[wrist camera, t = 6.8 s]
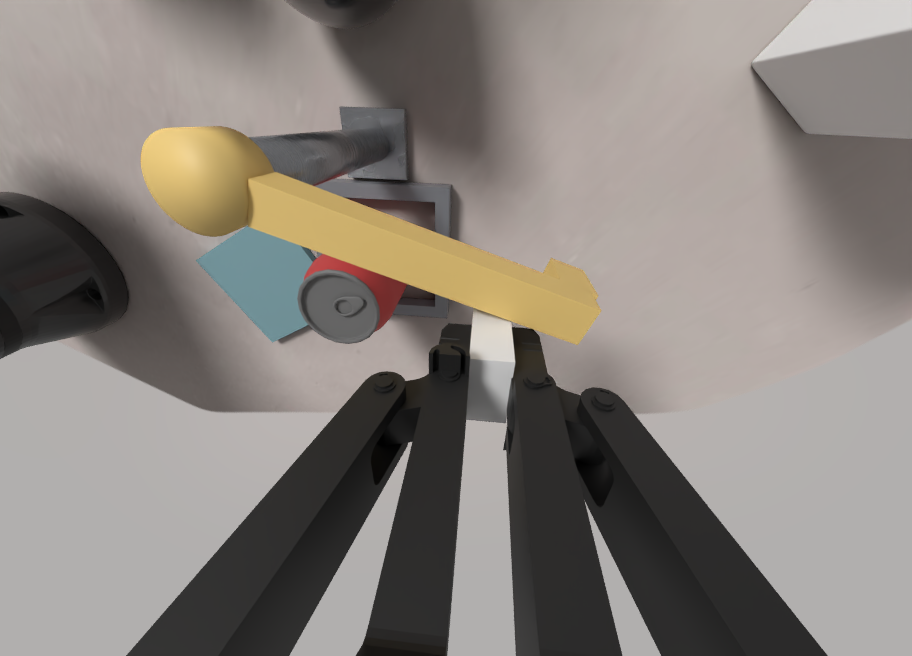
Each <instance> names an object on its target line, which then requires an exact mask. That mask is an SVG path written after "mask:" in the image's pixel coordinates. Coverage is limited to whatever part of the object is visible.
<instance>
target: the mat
mask: <svg viewBox="0 0 912 656" xmlns="http://www.w3.org/2000/svg"><path fill="white" fill-rule="evenodd" d="M315 259H316V258H315V257H314V255H313V254H312V253H311V251H310V250H309V249H308V248H306V247H303V246H300V245H297V244H295V243H292V242H289V241H286V240H283V239H281V238H278V237H275V236H272V235H270V234H267V233H264V232H261V231H258V230H256V229H253V228H250V227H248V226H247V227H245V228H244V229H242V230H241V231H239V232H238V233H236V234H235V235H233V236H232V237H230V238H229V239H227V240H226V241H224V242H223V243H221V244H220V245H218V246H217V247H215V248H214V249H212V250H211V251H209V252H208V253H206V254H205V255H203V256H202V257H200V258H199V259H197V260H196V261H197V262H198V263H199V264H200V266H201V267H202V268H203V269H204V270H205V271H206V272H207V273H208V274H209V275H210V276H211V277H212V278H213V279H214V281H215V282H216V283H217V284H218V285H219V286H220V287H221V288H222V289H223V290H224V291H225V292H226V293H227V294H228V296H229V297H230V298H231V299H232V300H233V301H234V302H235V303H236V304H237V305H238V306H239V307H240V308H241V309H242V310H243V312H244V313H245V314H246V315H247V316H248V317H249V318H250V319H251V320H252V321H253V322H254V323H255V324H256V325H257V327H258V328H259V329H260V330H261V331H262V332H263V333H264V334H265V335H266V336H267V337H268V338H269V339H270V340H271V341H272V342H274V341H276V340H278V339H280V338H282V337H285V336H287V335H289V334H291V333H293V332H295V331H297V330H299V329H301V328H303V327H305V326H307V325H308V324H307V323H306V321H305V320H304V318H303V316H302V314H301V312H300V310H299V306H298V301H297V297H298V291H299V287H300V286H301V284H302V283H303V281H304V276H305V274H306V272H307V270H308V269H309V267H310V266H311V264H312V263H313V261H314V260H315Z"/></svg>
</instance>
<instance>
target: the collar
mask: <svg viewBox="0 0 912 656" xmlns="http://www.w3.org/2000/svg"><path fill="white" fill-rule="evenodd" d="M315 187H317V188H320V189H322V190H325V191H328V192H330V193H333V194H336V195H338V196H341V197H346V198H365V199H384V200H403V201H421V202H435V232H436V233H439V234H441V235H444V236H446V237H449V238H450V227H451V185H449V184H429V183H409V182H389V181H369V180H349V179H332V180H329V181H327V182H324V183H322V184H319V185H316V186H315ZM320 255H322V253H320V252H317V256H318V257H319V256H320ZM448 311H449V299H448V298H445V297H442V296H439V295H437V294H435V300H428V299H413V298H400V300H399V302H398V304H397V306H396V308H395V310H394V312H393V314H395V315H409V316H422V317H436V318H447V316H448Z"/></svg>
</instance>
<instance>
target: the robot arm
mask: <svg viewBox="0 0 912 656" xmlns="http://www.w3.org/2000/svg"><path fill="white" fill-rule="evenodd" d="M127 303H128V294H127V288H126V284H125V282H124V279H123V276H122V274H121V272H120V270H119V268H118V267H117V265H116V263H115V262H114V260H113V259H112V257H111V256H110V255H109V253H108V252H107V251H106V250H105V248H104V247H103V246H102V245H101V244H100V243H99V242H98V241H97V240H96V239H95V238H94V237H93V236H92V235H91V234H90V233H89V232H88V231H87V230H86V229H85V228H83V227H82V226H81V225H80V224H79V223H77V222H76V221H75V220H73V219H72V218H71V217H69V216H68V215H66V214H65V213H63V212H61V211H60V210H58V209H56V208H54V207H53V206H51V205H49V204H47V203H45V202H42V201H40V200H38V199H35V198H32V197H29V196H26V195H22V194H18V193H10V192H0V359H1V358H3V357H5V356H7V355H9V354H11V353H13V352H16V351H18V350H20V349H22V348H25V347H29V346H33V345H38V344H43V343H47V342H52V341H57V340H61V339H66V338H70V337H75V336H79V335H84V334H88V333H92V332H95V331H97V330H100V329H102V328H103V327H105V326H107V325H109V324H111V323H113V322H115V321H116V320H118V319H119V318H120V317H121V316H122V315H123V314H124V312H125V310H126V308H127ZM506 418H507V431H506V438H505V443H504V449H503V450H506V451H507V470H508V471H507V472H508V494H509V515H510V535H511V536H510V537H511V558H512V580H513V600H514V621H515V644H516V656H622V652H621V648H620V644H619V640H618V636H617V632H616V628H615V624H614V619H613V616H612V611H611V607H610V603H609V599H608V595H607V591H606V587H605V583H604V579H603V575H602V570H601V567H600V562H599V558H598V554H597V550H596V546H595V542H594V538H593V534H592V530H591V525H590V522H589V517H588V513H587V509H586V505H585V502H586V504H587V506H588V508H589V510H590V512H591V514H592V516H593V518H594V520H595V522H596V524H597V526H598V528H599V530H600V532H601V534H602V536H603V538H604V540H605V542H606V544H607V546H608V548H609V550H610V553H611V555H612V557H613V559H614V561H615V563H616V565H617V567H618V569H619V571H620V573H621V575H622V577H623V579H624V581H625V583H626V585H627V587H628V589H629V591H630V593H631V595H632V597H633V599H634V601H635V603H636V605H637V607H638V609H639V611H640V613H641V615H642V617H643V619H644V622H645V624H646V626H647V627H648V630H649V632H650V634H651V636H652V638H653V640H654V642H655V644H656V646H657V648H658V650H659V652H660V654H661V656H827V654H826V653H825V652H824V651H823V649H822V648H821V647H820V646H819V644H818V643H817V642H816V641H815V639H814V638H813V637H812V636H811V634H810V633H809V632H808V631H807V629H806V628H805V627H804V626H803V624H802V623H801V622H800V621H799V619H798V618H797V617H796V616H795V614H794V613H793V612H792V611H791V609H790V608H789V607H788V606H787V604H786V603H785V602H784V601H783V600H782V598H781V597H780V596H779V594H778V593H777V592H776V591H775V589H774V588H773V587H772V586H771V584H770V583H769V582H768V581H767V579H766V578H765V577H764V576H763V574H762V573H761V572H760V571H759V570H758V568H757V567H756V566H755V565H754V563H753V562H752V561H751V559H750V558H749V557H748V556H747V554H746V553H745V552H744V551H743V549H742V548H741V547H740V546H739V544H738V543H737V542H736V541H735V539H734V538H733V537H732V536H731V534H730V533H729V532H728V531H727V529H726V528H725V527H724V526H723V524H721V522H720V521H719V519H718V518H717V517H716V516H715V515H714V513H713V512H712V511H711V509H710V508H709V507H708V506H707V504H706V503H705V502H704V501H703V500H702V498H701V497H700V496H699V494H698V493H697V492H696V491H695V489H694V488H693V487H692V486H691V484H690V483H689V482H688V481H687V480H686V478H685V477H684V476H683V474H682V473H681V472H680V471H679V470H678V468H677V467H676V466H675V465H674V463H673V462H672V461H671V459H670V458H669V457H668V456H667V454H666V453H665V452H664V451H663V449H662V448H661V447H660V446H659V444H658V443H657V442H656V441H655V439H653V437H652V436H651V434H650V433H649V432H648V431H647V429H646V428H645V427H644V426H643V425H642V423H641V422H640V421H639V420H638V418H637V417H636V416H635V415H634V413H633V412H632V411H631V410H630V408H629V407H628V406H627V405H626V403H625V402H624V401H623V400H622V399H621V398H620V397H619V396H618V395H617V394H615V393H613V392H611V391H609V390H606V389H602V388H589V389H586V390H585V391H583V392H582V394H581V396H580V395H577V394H574V393H571V392H568V391H565V390H563V389H561V388H559V387H557V386H556V383H555V381H554V379H553V378H552V377H551V376H550V375H549V374H548V373H547V369H546V364H545V360H544V355H543V352H542V346H541V342H540V337H539V335H538V334H537V333H536V332H535V331H534V330H533V329H528V328H515V327H512V325H511V321H509V320H506V319H504V318H501V317H498V316H495V315H492V314H490V313H487V312H484V311H481V310H478V309H476V308H474V309H473V320H472V325H462V324H448V325H447V326H446V327H445V328H443V329H442V333H441V338H440V342H439V345H436V346H435V347H433V348H432V349H431V350H430V352H429V374H428V375H426V376H425V377H422V378H420V379H416V380H410V381H405V379H404V378H403V377H402V376H401V375H399V374H397V373H395V372H387V371H386V372H379V373H376V374H374V375H372V376H370V377H369V378H368V379H367V380H366V381H365V382H364V383H363V384H362V385H361V386H360V387H359V389H358V390H357V391H356V392H355V393H354V394H353V395H352V397H351V398H350V399H349V400H348V401H347V402H346V404H345V405H344V406H343V407H342V408H341V409H340V410H339V412H338V413H337V414H336V415H335V416H334V417H333V418H332V420H331V421H330V422H329V423H328V424H327V425H326V427H325V428H324V429H323V430H322V431H321V432H320V434H319V435H318V436H317V437H316V438H315V439H314V440H313V442H312V443H311V444H310V445H309V446H308V447H307V448H306V450H305V451H304V452H303V453H302V454H301V455H300V457H299V458H298V459H297V460H296V461H295V462H294V463H293V465H292V466H291V467H290V468H289V469H288V470H287V471H286V473H285V474H284V475H283V476H282V477H281V478H280V480H279V481H278V482H277V483H276V484H275V485H274V486H273V488H272V489H271V490H270V491H269V492H268V493H267V494H266V496H265V497H264V498H263V499H262V500H261V501H260V502H259V504H258V505H257V506H256V507H255V508H254V510H253V511H252V512H251V513H250V514H249V515H248V516H247V517H246V519H245V520H244V521H243V522H242V523H241V524H240V525H239V527H238V528H237V529H236V530H235V531H234V532H233V534H232V535H231V536H230V537H229V538H228V539H227V540H226V542H225V543H224V544H223V545H222V546H221V547H220V548H219V550H218V551H217V552H216V553H215V554H214V555H213V557H212V558H211V559H210V560H209V561H208V562H207V564H206V565H205V566H204V567H203V568H202V569H201V570H200V571H199V573H198V574H197V575H196V576H195V577H194V579H193V580H192V581H191V582H190V583H189V584H188V585H187V587H186V588H185V589H184V590H183V591H182V592H181V594H180V595H179V596H178V597H177V598H176V599H175V600H174V601H173V603H172V604H171V605H170V606H169V607H168V608H167V609H166V611H165V612H164V613H163V614H162V615H161V616H160V618H159V619H158V620H157V621H156V622H155V623H154V624H153V626H152V627H151V628H150V629H149V630H148V631H147V633H146V634H145V635H144V636H143V637H142V638H141V639H140V641H139V642H138V643H137V644H136V645H135V646H134V647H133V649H132V650H131V651H130V652H129V653H128V655H126V656H289V655H290V653H291V651H292V650H293V648H294V646H295V644H296V643H297V640H298V639H299V637H300V636H301V634H302V632H303V630H304V628H305V627H306V625H307V623H308V621H309V620H310V618H311V616H312V614H313V612H314V611H315V609H316V607H317V605H318V604H319V601H320V600H321V598H322V596H323V595H324V593H325V591H326V589H327V588H328V586H329V584H330V582H331V581H332V579H333V577H334V575H335V573H336V572H337V570H338V568H339V566H340V564H341V563H342V561H343V559H344V557H345V556H346V553H347V552H348V550H349V548H350V547H351V545H352V543H353V541H354V540H355V538H356V536H357V534H358V533H359V531H360V529H361V527H362V526H363V524H364V522H365V520H366V518H367V517H368V515H369V513H370V511H371V510H372V508H373V506H374V504H375V502H376V501H377V499H378V497H379V495H380V494H381V492H382V490H383V488H384V486H385V485H386V483H387V481H388V479H389V478H390V476H391V474H392V472H393V471H394V469H395V467H396V465H397V463H398V462H399V460H400V458H401V456H402V455H403V453H404V451H405V449H406V447H407V445H408V442H412V446H411V451H410V455H409V459H408V463H407V468H406V471H405V476H404V480H403V484H402V489H401V493H400V496H399V501H398V505H397V509H396V513H395V517H394V521H393V526H392V530H391V534H390V538H389V542H388V546H387V550H386V554H385V559H384V563H383V567H382V571H381V575H380V579H379V584H378V588H377V592H376V596H375V600H374V604H373V609H372V613H371V617H370V621H369V625H368V629H367V633H366V636H365V639H364V642H363V645H362V646H361V648H360V650H359V651H358V653H357V655H356V656H447V651H448V638H449V626H450V614H451V601H452V589H453V588H452V587H453V576H454V563H455V551H456V539H457V526H458V514H459V502H460V489H461V477H462V465H463V452H464V439H465V426H466V420H477V421H488V422H499V423H506ZM584 500H585V501H584Z"/></svg>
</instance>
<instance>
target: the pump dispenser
mask: <svg viewBox="0 0 912 656" xmlns="http://www.w3.org/2000/svg"><path fill="white" fill-rule="evenodd" d="M284 1H286V2H287V3H288V4H289V5H290V6H292V7H293V8H294V9H296V10H297V11H298V12H300V13H301V14H303V15H305V16H306V17H308V18H310V19H312V20H314V21H316V22H318V23H320V24H323V25H325V26H329V27H333V28H339V29H353V28H358V27H362V26H365V25H368V24H370V23H372V22H374V21H376V20H377V19H379V18H380V17H382V16H383V15H384V14H385V13H386V12H388V11H389V10H390V9H391V8H392V6H393V5H394V4H395V3H396V2H397V0H284Z"/></svg>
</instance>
